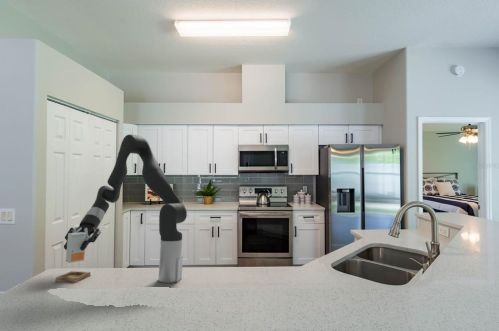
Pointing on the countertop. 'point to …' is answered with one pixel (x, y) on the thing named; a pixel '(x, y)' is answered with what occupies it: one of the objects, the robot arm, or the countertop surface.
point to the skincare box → (75, 247)
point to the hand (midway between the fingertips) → (73, 249)
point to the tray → (73, 277)
